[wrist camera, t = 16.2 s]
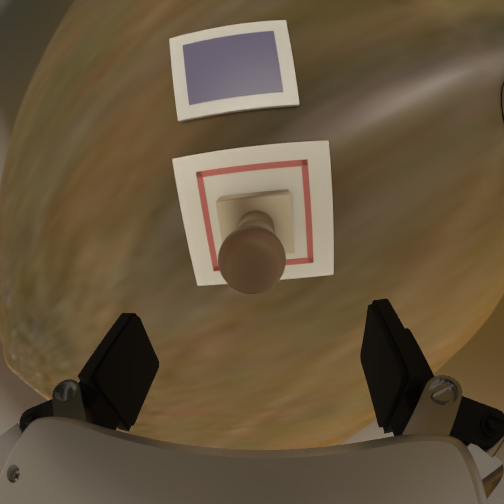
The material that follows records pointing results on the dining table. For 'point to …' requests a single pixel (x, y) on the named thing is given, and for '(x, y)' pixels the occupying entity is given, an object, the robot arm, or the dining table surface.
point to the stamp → (254, 239)
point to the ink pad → (233, 70)
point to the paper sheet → (259, 180)
